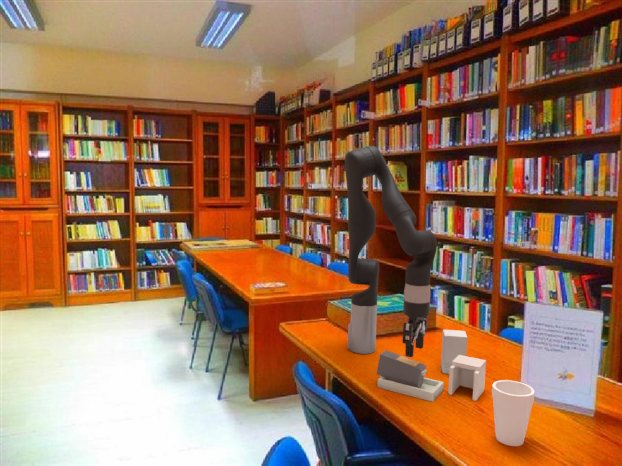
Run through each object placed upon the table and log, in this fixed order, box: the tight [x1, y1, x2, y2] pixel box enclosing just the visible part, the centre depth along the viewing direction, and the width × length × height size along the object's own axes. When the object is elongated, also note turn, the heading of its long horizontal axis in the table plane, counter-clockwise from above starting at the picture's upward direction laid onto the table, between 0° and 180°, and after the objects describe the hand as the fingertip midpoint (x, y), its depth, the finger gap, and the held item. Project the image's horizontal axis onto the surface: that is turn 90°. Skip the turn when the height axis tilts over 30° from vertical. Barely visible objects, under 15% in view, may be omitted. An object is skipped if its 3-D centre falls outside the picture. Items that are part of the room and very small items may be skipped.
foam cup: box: [491, 379, 536, 447], centre depth 124 cm, size 10×9×13 cm
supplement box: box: [440, 329, 468, 375], centre depth 167 cm, size 7×7×13 cm
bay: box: [447, 355, 487, 402], centre depth 151 cm, size 8×9×9 cm
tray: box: [377, 376, 445, 403], centre depth 152 cm, size 17×10×2 cm, turn 58°
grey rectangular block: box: [376, 349, 428, 388], centre depth 153 cm, size 4×14×7 cm, turn 57°
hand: (414, 352), depth 152 cm, fingers open, 8 cm apart
